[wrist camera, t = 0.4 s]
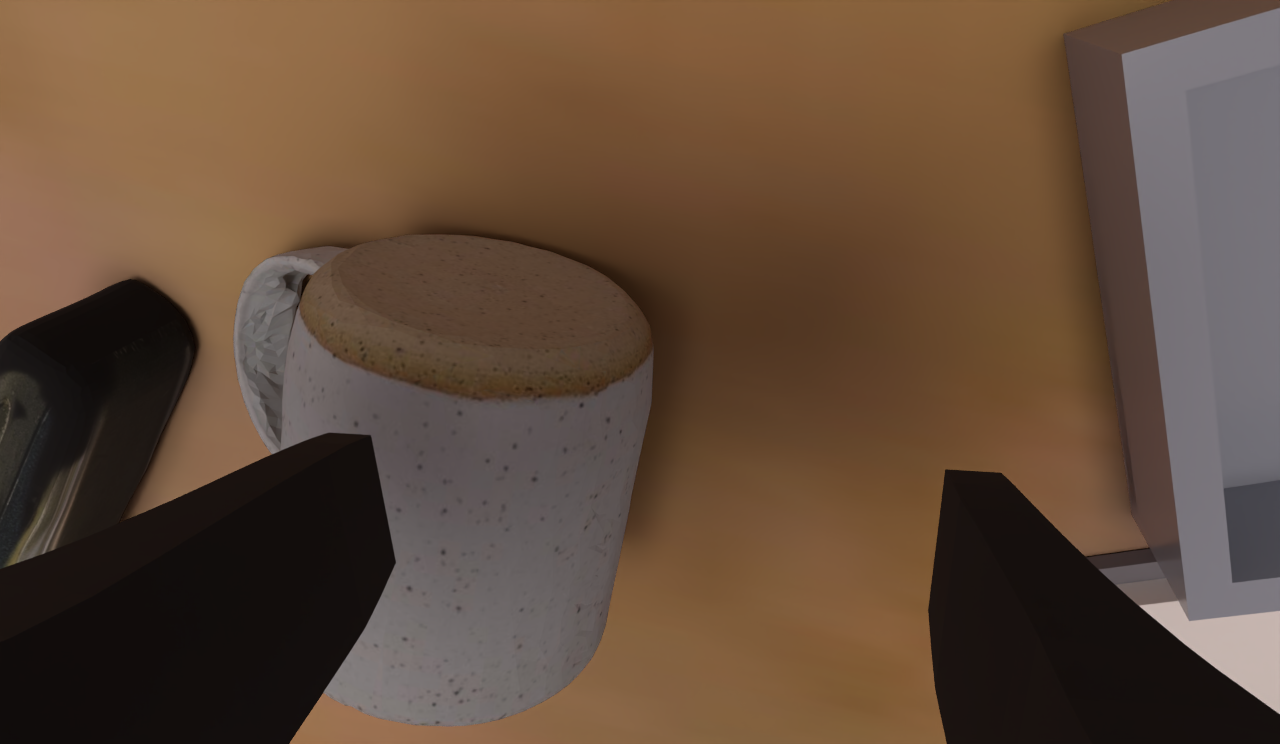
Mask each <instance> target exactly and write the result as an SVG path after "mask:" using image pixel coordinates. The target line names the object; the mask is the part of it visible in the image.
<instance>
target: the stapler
mask: <svg viewBox="0 0 1280 744" xmlns="http://www.w3.org/2000/svg"><path fill="white" fill-rule="evenodd" d="M194 352H195V345H194V342H193V338H192V334H191V332H190V330H189V328H188V325H187V322H186V321H185V319H184V318H183V317H182V316H181V315H180V313H179V312H178V311H177V310H176V309H175V307H174V306H173V305H172V304H170V303H169V302H168V301H167V300H166V299H165V298H163V297H162V296H161V295H159V294H158V293H156V292H155V291H153V290H152V289H150V288H149V287H147V286H145V285H144V284H142V283H140V282H138V281H136V280H131V279H129V280H125V281H122V282H119V283H116V284H114V285H112V286H109V287H107V288H105V289H103V290H101V291H99V292H97V293H95V294H93V295H91V296H89V297H87V298H85V299H83V300H80V301H78V302H76V303H74V304H71V305H69V306H67V307H64V308H62V309H60V310H57V311H55V312H53V313H50V314H48V315H46V316H43V317H41V318H39V319H36V320H34V321H32V322H29V323H27V324H25V325H23V326H21V327H19V328H17V329H15V330H13V331H12V332H10V333H9V334H8V335H7V336H5V337H4V338H3V339H2V340H1V341H0V569H1V568H4V567H7V566H10V565H13V564H16V563H18V562H21V561H24V560H27V559H30V558H33V557H36V556H38V555H41V554H44V553H46V552H49V551H52V550H54V549H57V548H60V547H62V546H65V545H68V544H70V543H73V542H75V541H78V540H80V539H83V538H85V537H88V536H90V535H93V534H95V533H97V532H100V531H102V530H104V529H107V528H109V527H111V526H114V525H116V524H118V523H119V521H120V519H121V517H122V515H123V512H124V510H125V508H126V506H127V504H128V502H129V500H130V498H131V497H132V495H133V493H134V491H135V489H136V488H137V486H138V484H139V482H140V480H141V478H142V476H143V475H144V473H145V471H146V469H147V466H148V464H149V462H150V459H151V457H152V454H153V452H154V449H155V447H156V444H157V442H158V440H159V437H160V435H161V433H162V431H163V429H164V426H165V424H166V422H167V420H168V418H169V416H170V414H171V412H172V410H173V408H174V406H175V404H176V402H177V400H178V398H179V396H180V394H181V391H182V389H183V387H184V385H185V383H186V380H187V378H188V375H189V372H190V368H191V364H192V360H193V356H194Z"/></svg>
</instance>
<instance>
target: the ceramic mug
mask: <svg viewBox="0 0 1280 744" xmlns="http://www.w3.org/2000/svg"><path fill="white" fill-rule="evenodd" d="M307 274H310V275H313V276H312V277H311V279H310V281H309V282H308V284H307V286H306V287H305V290H304V292H303V295H302V298H301V301H300V297H301V290H302V282H303V279H304V278H305V277H306V275H307ZM299 302H300V304H299V306H298V309H297V312H296V307H297V305H298V303H299ZM233 339H234V356H235V362H236V368H237V376H238V381H239V384H240V388H241V391H242V395H243V399H244V402H245V405H246V407H247V410H248V412H249V415H250V418H251V420H252V422H253V424H254V425H255V427H256V429H257V431H258V433H259V435H260V437H261V439H262V440H263V442H264V444H265V445H266V447H267V448H268V450H269V451H270V452H271V454H274V453H277V452H279V451H281V450H283V449H286V448H288V447H290V446H293V445H295V444H298V443H300V442H303V441H305V440H308V439H311V438H313V437H316V436H320V435H323V434H326V433H329V432H330V433H346V434H363V435H371V437H372V442H373V447H374V452H375V458H376V463H377V468H378V473H379V478H380V483H381V488H382V493H383V498H384V503H385V509H386V514H387V519H388V524H389V529H390V534H391V539H392V544H393V549H394V554H395V559H396V564H395V566H394V568H393V571H392V573H391V575H390V577H389V580H388V582H387V584H386V586H385V589H384V591H383V593H382V595H381V597H380V600H379V602H378V604H377V606H376V608H375V610H374V612H373V614H372V616H371V618H370V620H369V622H368V624H367V626H366V628H365V629H364V631H363V632H362V634H361V636H360V637H359V639H358V640H357V642H356V643H355V645H354V647H353V648H352V650H351V651H350V653H349V654H348V656H347V657H346V659H345V660H344V662H343V663H342V665H341V666H340V668H339V670H338V671H337V673H336V674H335V676H334V677H333V679H332V680H331V682H330V683H329V685H328V686H327V688H326V689H325V691H324V692H323V693H325V694H326V695H328V696H329V697H330V698H332V699H334V700H336V701H338V702H340V703H342V704H344V705H346V706H352V707H354V708H355V709H357V710H359V711H361V712H362V713H364V714H367V715H371V716H374V717H377V718H380V719H385V720H390V721H395V722H401V723H406V724H412V725H426V726H466V725H473V724H480V723H486V722H491V721H495V720H500V719H502V718H505V717H508V716H511V715H514V714H517V713H520V712H523V711H525V710H527V709H529V708H531V707H533V706H535V705H537V704H539V703H542V702H543V701H545V700H547V699H548V698H550V697H552V696H553V695H555V694H557V693H558V692H559V691H561V690H562V689H563V688H565V687H566V686H567V685H569V684H570V683H571V682H572V681H573V680H574V679H575V678H576V677H577V676H578V675H579V674H580V672H581V671H582V670H583V669H584V668H585V666H586V665H587V664H588V662H589V661H590V660H591V659H592V657H593V655H594V653H595V651H596V649H597V647H598V645H599V643H600V640H601V637H602V635H603V632H604V629H605V625H606V621H607V616H608V610H609V605H610V600H611V595H612V590H613V585H614V581H615V576H616V571H617V567H618V562H619V557H620V552H621V548H622V543H623V538H624V533H625V528H626V523H627V518H628V513H629V508H630V502H631V495H632V491H633V486H634V481H635V476H636V472H637V467H638V462H639V457H640V453H641V448H642V444H643V439H644V435H645V430H646V426H647V421H648V417H649V412H650V408H651V403H652V379H653V354H654V348H653V341H652V335H651V329H650V325H649V324H648V322H647V320H646V318H645V316H644V315H643V313H642V311H641V309H640V308H639V307H638V306H637V304H636V303H635V302H634V301H633V300H632V299H631V297H630V296H629V295H628V294H627V293H626V292H625V291H624V290H623V289H622V288H620V287H619V286H618V285H617V284H615V283H614V282H613V281H612V280H610V279H609V278H608V277H607V276H605V275H604V274H602V273H600V272H598V271H596V270H595V269H593V268H591V267H589V266H587V265H585V264H582V263H580V262H577V261H574V260H572V259H569V258H566V257H564V256H561V255H558V254H556V253H553V252H550V251H547V250H543V249H538V248H534V247H529V246H526V245H522V244H519V243H515V242H510V241H504V240H497V239H491V238H485V237H478V236H468V235H447V234H423V235H403V236H398V237H392V238H386V239H381V240H375V241H371V242H367V243H362V244H359V245H356V246H354V247H352V248H350V249H346V248H339V247H333V246H324V247H317V248H310V249H303V250H296V251H290V252H286V253H283V254H279V255H276V256H273V257H270V258H268V259H266V260H264V261H263V262H262V263H261V264H259V265H258V266H257V267H256V268H255V269H254V270H253V271H252V272H251V274H250V275H249V276H248V278H247V279H246V280H245V282H244V285H243V288H242V291H241V293H240V297H239V300H238V304H237V309H236V315H235V324H234V337H233Z"/></svg>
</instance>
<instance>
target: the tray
mask: <svg viewBox="0 0 1280 744" xmlns="http://www.w3.org/2000/svg"><path fill="white" fill-rule="evenodd" d="M1064 41H1065V48H1066V55H1067V62H1068V69H1069V76H1070V83H1071V90H1072V97H1073V104H1074V111H1075V119H1076V126H1077V133H1078V140H1079V147H1080V154H1081V161H1082V168H1083V175H1084V182H1085V189H1086V196H1087V203H1088V210H1089V217H1090V224H1091V231H1092V238H1093V245H1094V253H1095V260H1096V267H1097V274H1098V281H1099V288H1100V295H1101V302H1102V309H1103V316H1104V323H1105V330H1106V337H1107V344H1108V351H1109V358H1110V365H1111V372H1112V379H1113V387H1114V394H1115V401H1116V408H1117V415H1118V422H1119V429H1120V436H1121V443H1122V450H1123V457H1124V464H1125V471H1126V478H1127V485H1128V492H1129V499H1130V506H1131V513H1132V516H1133V518H1134V520H1135V522H1136V523H1137V525H1138V527H1139V529H1140V531H1141V533H1142V535H1143V536H1144V538H1145V540H1146V542H1147V544H1148V546H1149V548H1150V549H1151V551H1152V553H1153V555H1154V557H1155V559H1156V561H1157V562H1158V564H1159V566H1160V568H1161V570H1162V572H1163V574H1164V575H1165V577H1166V579H1167V581H1168V583H1169V585H1170V587H1171V588H1172V590H1173V592H1174V594H1175V596H1176V598H1177V600H1178V601H1179V603H1180V605H1181V607H1182V609H1183V611H1184V613H1185V614H1186V616H1187V618H1188V620H1189V621H1195V620H1204V619H1212V618H1221V617H1230V616H1239V615H1248V614H1257V613H1265V612H1274V611H1280V0H1172V1H1169V2H1165V3H1162V4H1159V5H1156V6H1152V7H1149V8H1146V9H1143V10H1139V11H1136V12H1133V13H1130V14H1126V15H1123V16H1120V17H1116V18H1113V19H1110V20H1107V21H1103V22H1100V23H1097V24H1094V25H1090V26H1087V27H1084V28H1081V29H1077V30H1074V31H1071V32H1068V33H1064Z"/></svg>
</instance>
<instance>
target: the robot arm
mask: <svg viewBox="0 0 1280 744" xmlns="http://www.w3.org/2000/svg"><path fill="white" fill-rule="evenodd" d="M395 564H396V559H395V554H394V549H393V544H392V539H391V534H390V529H389V524H388V519H387V514H386V509H385V503H384V498H383V493H382V488H381V483H380V478H379V473H378V468H377V463H376V458H375V452H374V447H373V442H372V437H371V435H363V434H346V433H330V432H329V433H326V434H323V435H320V436H316V437H313V438H311V439H308V440H305V441H303V442H300V443H298V444H295V445H293V446H290V447H288V448H286V449H283V450H281V451H279V452H277V453H274V454H272V455H270V456H268V457H265V458H263V459H261V460H259V461H257V462H254V463H252V464H250V465H248V466H246V467H243V468H241V469H239V470H237V471H235V472H233V473H230V474H228V475H226V476H224V477H222V478H220V479H217V480H215V481H213V482H211V483H209V484H207V485H204V486H202V487H200V488H198V489H196V490H194V491H191V492H189V493H187V494H185V495H183V496H181V497H178V498H176V499H174V500H172V501H169V502H167V503H165V504H162V505H160V506H158V507H155V508H153V509H151V510H148V511H146V512H144V513H141V514H139V515H137V516H134V517H132V518H130V519H128V520H125V521H123V522H121V523H118V524H116V525H114V526H111V527H109V528H107V529H104V530H102V531H100V532H97V533H95V534H93V535H90V536H88V537H85V538H83V539H80V540H78V541H75V542H73V543H70V544H68V545H65V546H62V547H60V548H57V549H54V550H52V551H49V552H46V553H44V554H41V555H38V556H36V557H33V558H30V559H27V560H24V561H21V562H18V563H16V564H13V565H10V566H7V567H4V568H1V569H0V744H289V743H290V741H291V740H292V738H293V737H294V735H295V734H296V732H297V731H298V729H299V728H300V726H301V725H302V723H303V722H304V720H305V719H306V717H307V716H308V715H309V713H310V712H311V710H312V709H313V707H314V706H315V704H316V703H317V701H318V700H319V698H320V697H321V695H322V694H323V692H324V691H325V689H326V688H327V686H328V685H329V683H330V682H331V680H332V679H333V677H334V676H335V674H336V673H337V671H338V670H339V668H340V666H341V665H342V663H343V662H344V660H345V659H346V657H347V656H348V654H349V653H350V651H351V650H352V648H353V647H354V645H355V643H356V642H357V640H358V639H359V637H360V636H361V634H362V632H363V631H364V629H365V628H366V626H367V624H368V622H369V620H370V618H371V616H372V614H373V612H374V610H375V608H376V606H377V604H378V602H379V600H380V597H381V595H382V593H383V591H384V589H385V586H386V584H387V582H388V580H389V577H390V575H391V573H392V571H393V568H394V566H395ZM928 613H929V625H930V637H931V650H932V660H933V671H934V681H935V690H936V695H937V699H938V704H939V709H940V714H941V718H942V723H943V728H944V732H945V737H946V742H947V744H1280V714H1279V713H1277V712H1276V711H1275V710H1273V709H1272V708H1270V707H1269V706H1268V705H1266V704H1265V703H1263V702H1262V701H1261V700H1259V699H1258V698H1257V697H1255V696H1254V695H1252V694H1251V693H1250V692H1248V691H1247V690H1245V689H1244V688H1243V687H1241V686H1240V685H1238V684H1237V683H1236V682H1234V681H1233V680H1232V679H1230V678H1229V677H1227V676H1226V675H1225V674H1223V673H1222V672H1220V671H1219V670H1218V669H1216V668H1215V667H1214V666H1212V665H1211V664H1210V663H1208V662H1207V661H1206V660H1205V659H1203V658H1202V657H1201V656H1199V655H1198V654H1197V653H1196V652H1194V651H1193V650H1192V649H1190V648H1189V647H1188V646H1187V645H1185V644H1184V643H1183V642H1182V641H1180V640H1179V639H1178V638H1177V637H1176V636H1174V635H1173V634H1172V633H1171V632H1170V631H1168V630H1167V629H1166V628H1165V627H1164V626H1162V625H1161V624H1160V623H1159V622H1158V621H1156V620H1155V619H1154V618H1153V617H1152V616H1150V615H1149V614H1148V613H1147V612H1146V611H1145V610H1143V609H1142V608H1141V607H1140V606H1139V605H1137V604H1136V603H1135V602H1134V601H1133V600H1132V599H1131V598H1129V597H1128V596H1127V595H1126V594H1125V593H1124V592H1123V591H1122V590H1120V589H1119V588H1118V587H1117V586H1116V585H1115V584H1114V583H1113V582H1112V581H1110V580H1109V579H1108V578H1107V577H1106V576H1105V575H1104V574H1103V573H1102V572H1101V571H1100V570H1099V569H1097V568H1096V567H1095V566H1094V565H1093V564H1092V563H1091V562H1090V561H1089V560H1088V559H1087V558H1086V557H1085V556H1084V555H1083V554H1082V553H1081V552H1080V551H1079V550H1078V549H1077V548H1075V547H1074V546H1073V545H1072V544H1071V543H1070V542H1069V541H1068V540H1067V539H1066V538H1065V537H1064V536H1063V535H1062V534H1061V533H1060V532H1059V531H1058V530H1057V529H1056V528H1055V527H1054V526H1053V525H1052V524H1051V523H1050V522H1049V521H1048V520H1047V519H1046V518H1045V517H1044V516H1043V515H1042V514H1041V513H1040V512H1039V510H1038V509H1037V508H1036V507H1035V506H1034V505H1033V504H1032V503H1031V502H1030V501H1029V500H1028V499H1027V498H1026V497H1025V496H1024V495H1023V494H1022V493H1021V492H1020V491H1019V490H1018V489H1017V488H1016V487H1015V486H1014V485H1013V484H1012V483H1011V482H1010V481H1009V480H1008V479H1007V478H1006V477H1005V476H1004V475H1003V474H1002V473H994V472H978V471H961V470H945V477H944V485H943V493H942V502H941V510H940V518H939V526H938V535H937V543H936V551H935V559H934V568H933V576H932V584H931V592H930V601H929V609H928Z"/></svg>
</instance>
